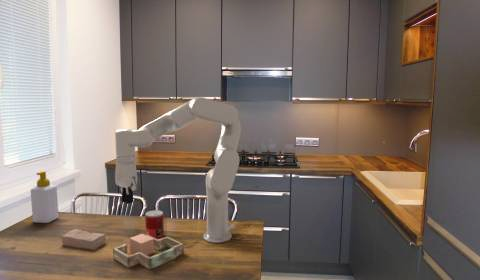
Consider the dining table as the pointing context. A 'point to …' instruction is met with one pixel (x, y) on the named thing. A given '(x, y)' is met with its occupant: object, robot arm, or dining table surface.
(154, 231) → the canned food
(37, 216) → the soap bottle
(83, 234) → the brick
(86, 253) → the dining table surface
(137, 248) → the block
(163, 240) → the channel
